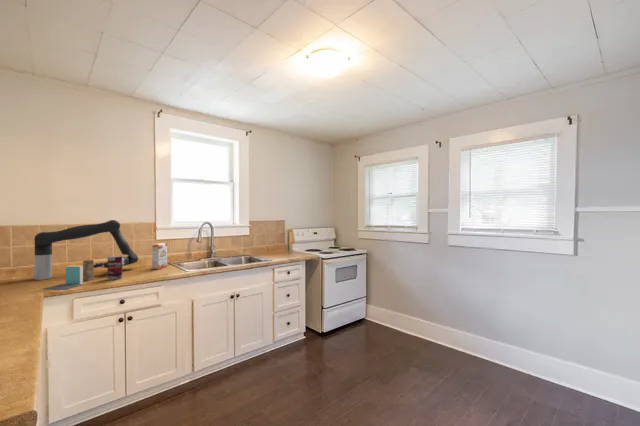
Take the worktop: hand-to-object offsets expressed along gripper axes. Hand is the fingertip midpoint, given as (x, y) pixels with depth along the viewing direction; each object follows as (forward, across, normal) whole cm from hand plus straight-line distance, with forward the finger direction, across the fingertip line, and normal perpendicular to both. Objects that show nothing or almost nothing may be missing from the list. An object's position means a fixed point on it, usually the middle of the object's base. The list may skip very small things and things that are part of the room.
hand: (99, 266), depth 220 cm
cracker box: (-39, +21, +8) cm, 45 cm away
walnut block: (+10, 0, +8) cm, 13 cm away
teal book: (+21, 0, +8) cm, 22 cm away
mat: (+28, 0, +8) cm, 29 cm away
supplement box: (+4, +15, +8) cm, 18 cm away
